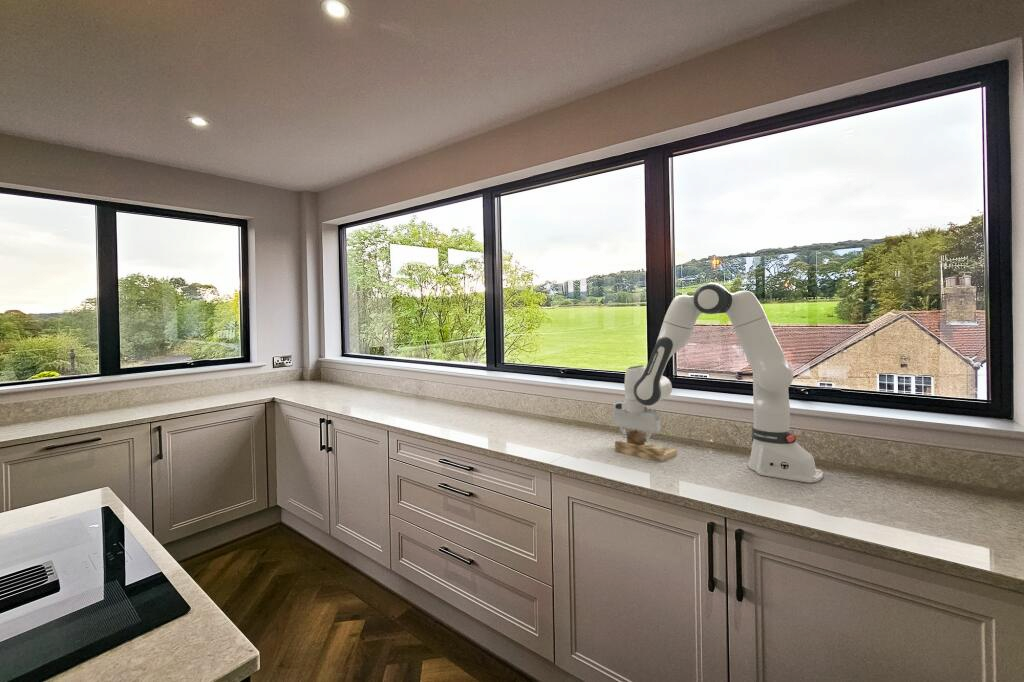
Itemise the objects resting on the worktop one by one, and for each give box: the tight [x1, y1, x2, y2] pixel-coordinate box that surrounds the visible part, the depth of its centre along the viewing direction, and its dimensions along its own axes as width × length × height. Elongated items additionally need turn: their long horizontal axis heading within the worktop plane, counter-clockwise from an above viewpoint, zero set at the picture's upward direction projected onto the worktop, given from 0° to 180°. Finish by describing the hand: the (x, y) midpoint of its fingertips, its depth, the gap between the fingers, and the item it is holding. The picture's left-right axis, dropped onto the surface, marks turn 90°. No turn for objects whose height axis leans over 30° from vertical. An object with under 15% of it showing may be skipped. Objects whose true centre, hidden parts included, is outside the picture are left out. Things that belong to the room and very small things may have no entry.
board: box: [614, 440, 678, 463], centre depth 187 cm, size 20×12×4 cm, turn 45°
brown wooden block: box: [626, 429, 646, 446], centre depth 192 cm, size 5×5×6 cm
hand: (635, 439), depth 192 cm, fingers open, 8 cm apart
